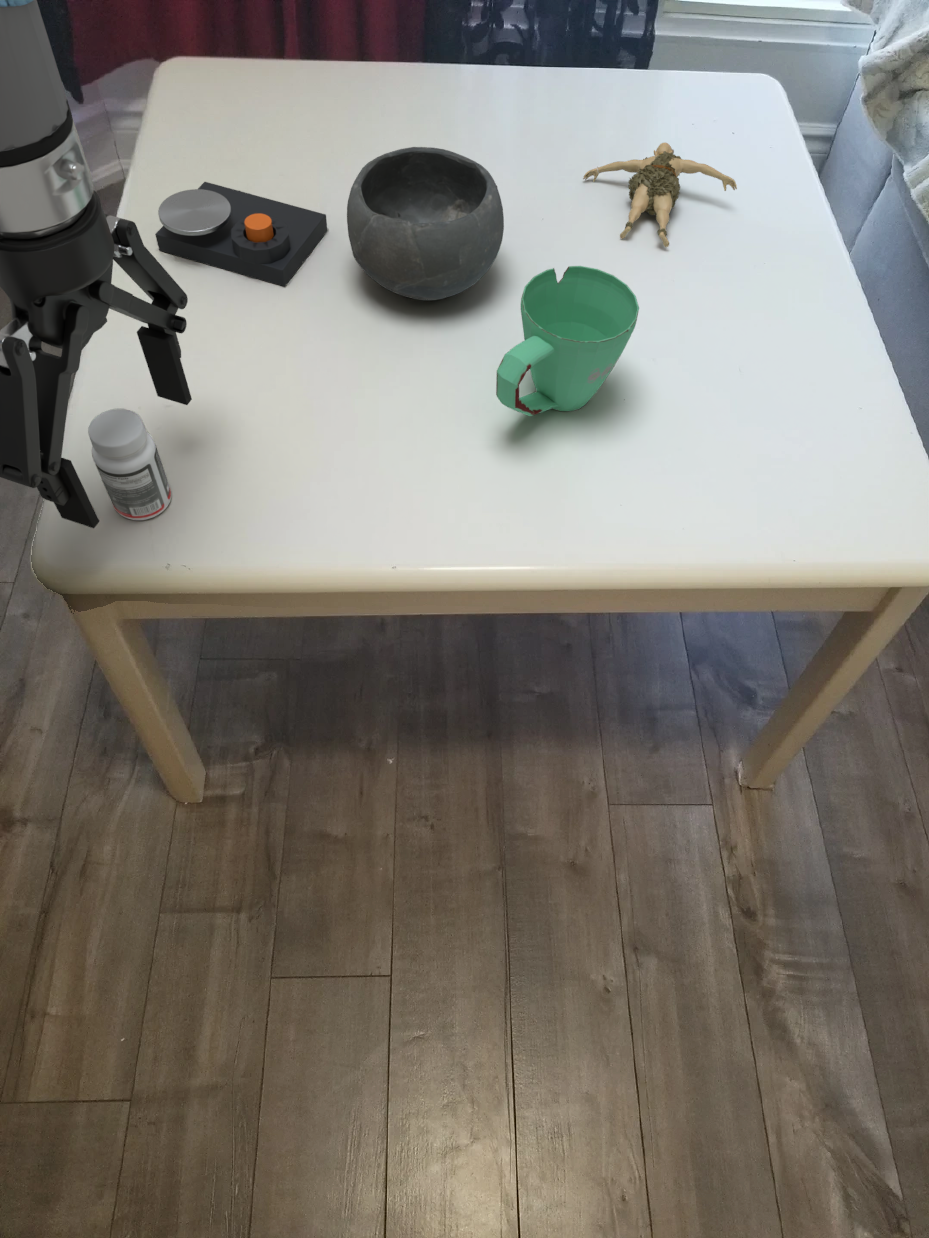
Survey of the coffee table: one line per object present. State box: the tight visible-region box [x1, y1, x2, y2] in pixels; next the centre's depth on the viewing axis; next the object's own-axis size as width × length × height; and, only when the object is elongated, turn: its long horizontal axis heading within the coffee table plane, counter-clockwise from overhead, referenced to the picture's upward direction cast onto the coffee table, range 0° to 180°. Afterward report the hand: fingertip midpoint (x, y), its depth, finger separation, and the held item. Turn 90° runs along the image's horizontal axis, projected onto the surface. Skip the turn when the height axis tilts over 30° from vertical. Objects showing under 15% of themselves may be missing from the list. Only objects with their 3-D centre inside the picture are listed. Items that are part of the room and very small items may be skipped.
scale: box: [154, 181, 328, 287], centre depth 92 cm, size 14×10×4 cm
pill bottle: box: [87, 408, 172, 521], centre depth 71 cm, size 5×5×8 cm
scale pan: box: [157, 188, 232, 236], centre depth 90 cm, size 7×7×1 cm
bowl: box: [346, 146, 505, 301], centre depth 88 cm, size 15×15×10 cm
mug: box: [495, 265, 640, 417], centre depth 79 cm, size 15×10×10 cm
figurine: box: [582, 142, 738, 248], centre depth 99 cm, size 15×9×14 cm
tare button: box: [244, 214, 274, 242], centre depth 89 cm, size 3×3×2 cm
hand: (130, 456), depth 71 cm, fingers open, 13 cm apart
